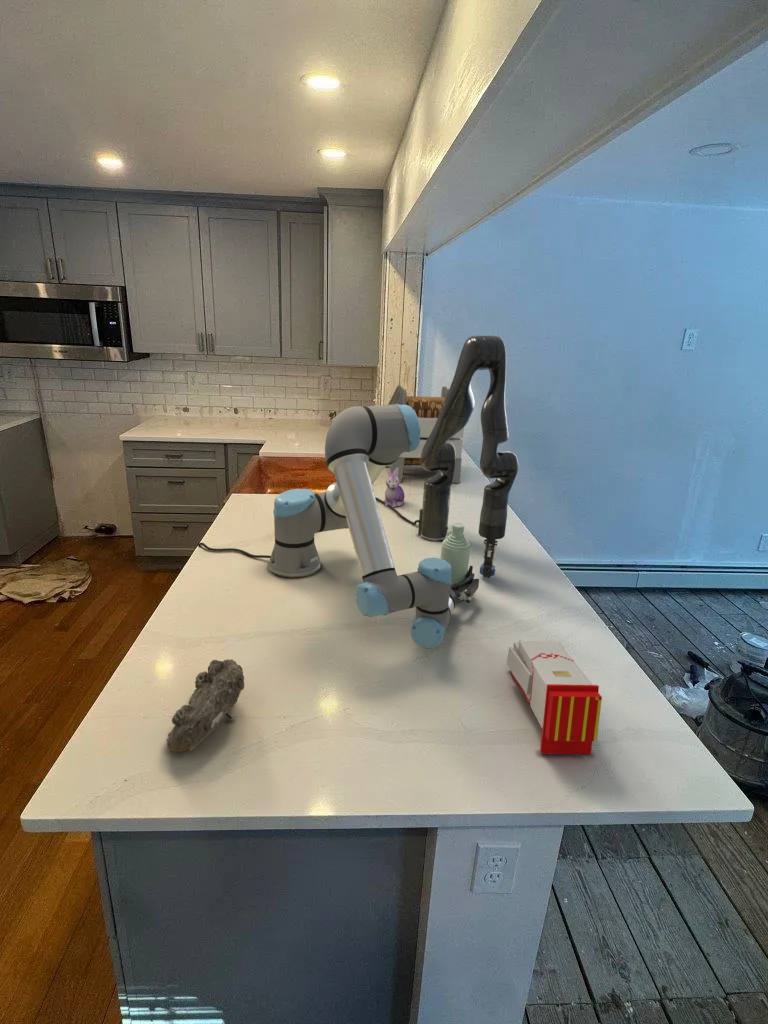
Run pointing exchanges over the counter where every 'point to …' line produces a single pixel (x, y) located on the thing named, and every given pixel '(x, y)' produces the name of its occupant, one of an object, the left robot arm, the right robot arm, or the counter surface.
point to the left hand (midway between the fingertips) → (456, 567)
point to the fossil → (206, 705)
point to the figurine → (393, 489)
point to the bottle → (456, 553)
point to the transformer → (425, 429)
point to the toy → (557, 696)
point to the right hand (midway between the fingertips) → (487, 573)
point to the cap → (491, 570)
